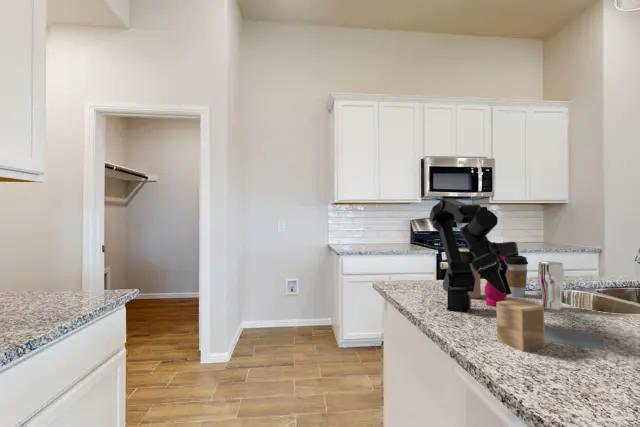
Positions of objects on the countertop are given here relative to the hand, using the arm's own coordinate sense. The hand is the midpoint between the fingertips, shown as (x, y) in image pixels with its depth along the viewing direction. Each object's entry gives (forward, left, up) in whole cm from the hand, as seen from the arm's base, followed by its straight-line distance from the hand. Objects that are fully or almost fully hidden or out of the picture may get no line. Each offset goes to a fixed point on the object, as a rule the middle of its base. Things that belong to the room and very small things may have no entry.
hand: (507, 293), depth 90 cm
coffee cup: (-1, +46, -10) cm, 47 cm away
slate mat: (+13, +2, -10) cm, 17 cm away
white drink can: (+10, +32, -10) cm, 35 cm away
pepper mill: (-6, +28, -10) cm, 30 cm away
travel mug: (-16, +36, -10) cm, 41 cm away
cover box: (+3, -9, -10) cm, 14 cm away
